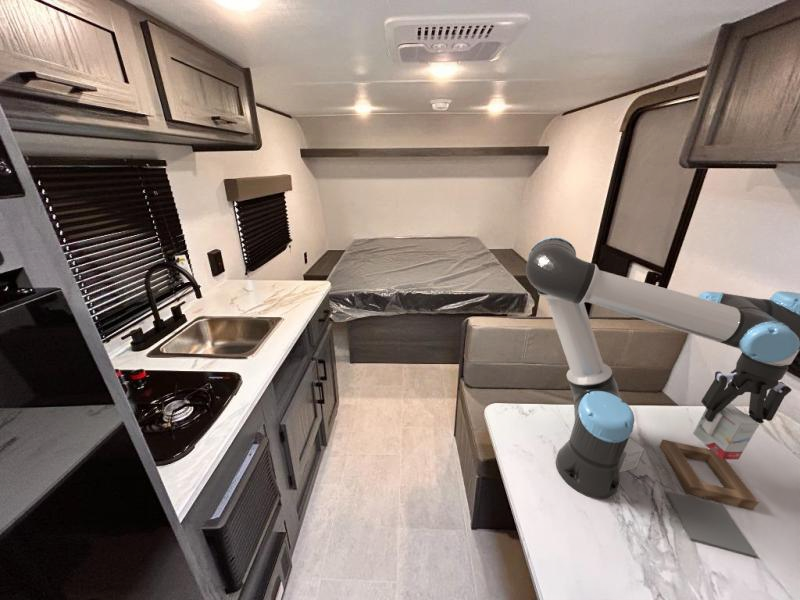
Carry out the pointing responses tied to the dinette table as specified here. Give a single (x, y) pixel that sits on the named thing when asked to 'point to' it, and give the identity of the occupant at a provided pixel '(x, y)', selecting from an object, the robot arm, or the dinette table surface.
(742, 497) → the wooden holder frame
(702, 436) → the ink box
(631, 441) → the product box
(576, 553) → the dinette table surface
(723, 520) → the mat
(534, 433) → the dinette table surface
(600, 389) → the robot arm
